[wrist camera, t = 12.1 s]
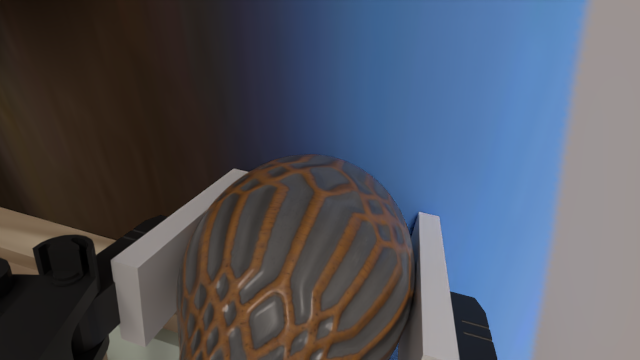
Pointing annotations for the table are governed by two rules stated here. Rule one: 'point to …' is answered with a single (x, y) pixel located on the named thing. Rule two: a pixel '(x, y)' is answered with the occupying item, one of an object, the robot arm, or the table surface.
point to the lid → (156, 356)
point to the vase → (297, 267)
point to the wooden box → (27, 231)
